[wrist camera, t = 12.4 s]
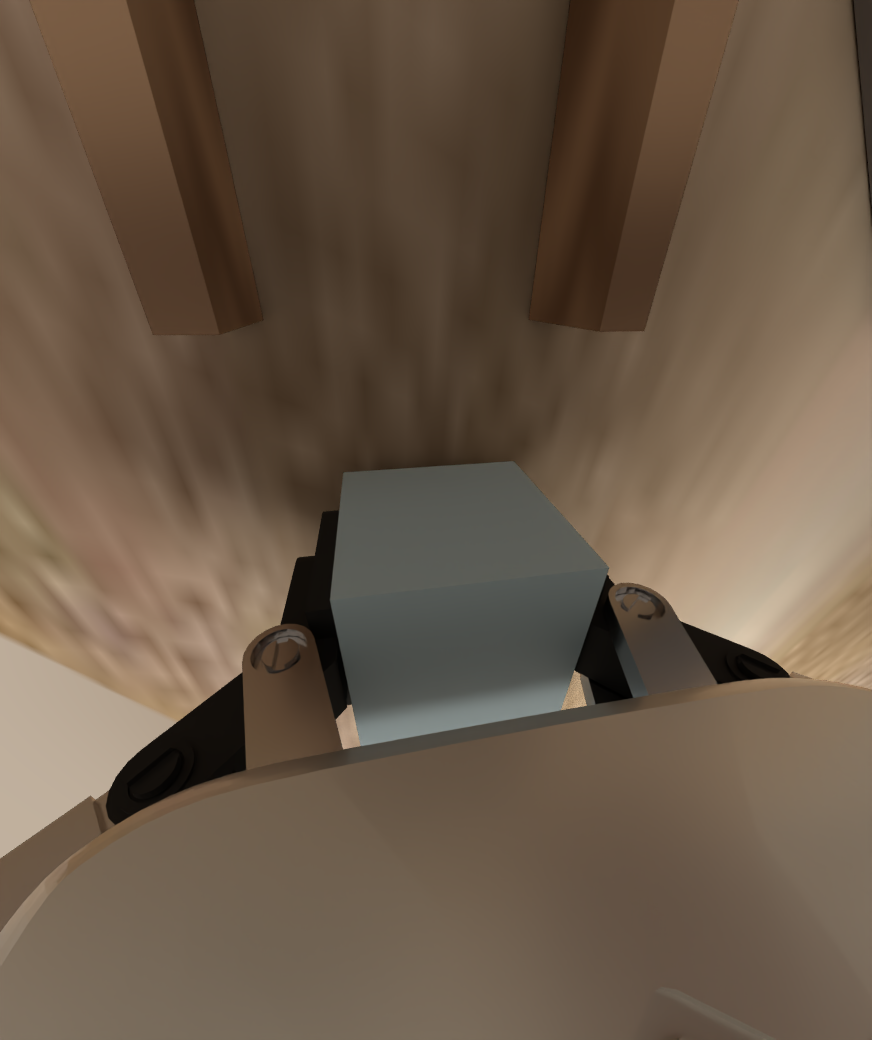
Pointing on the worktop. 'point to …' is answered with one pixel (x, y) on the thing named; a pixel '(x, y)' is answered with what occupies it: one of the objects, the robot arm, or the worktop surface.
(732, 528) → the worktop surface
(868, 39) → the mat
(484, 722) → the block
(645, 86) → the shelf bay
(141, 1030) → the robot arm
